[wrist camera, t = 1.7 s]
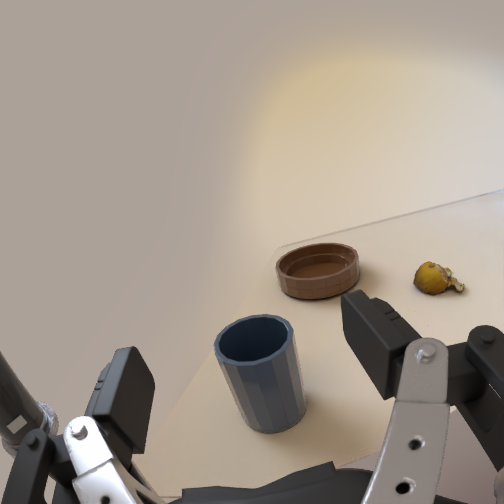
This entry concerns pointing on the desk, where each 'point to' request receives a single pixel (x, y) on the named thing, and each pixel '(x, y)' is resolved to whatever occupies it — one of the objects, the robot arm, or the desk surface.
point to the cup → (263, 371)
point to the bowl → (318, 270)
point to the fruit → (435, 279)
